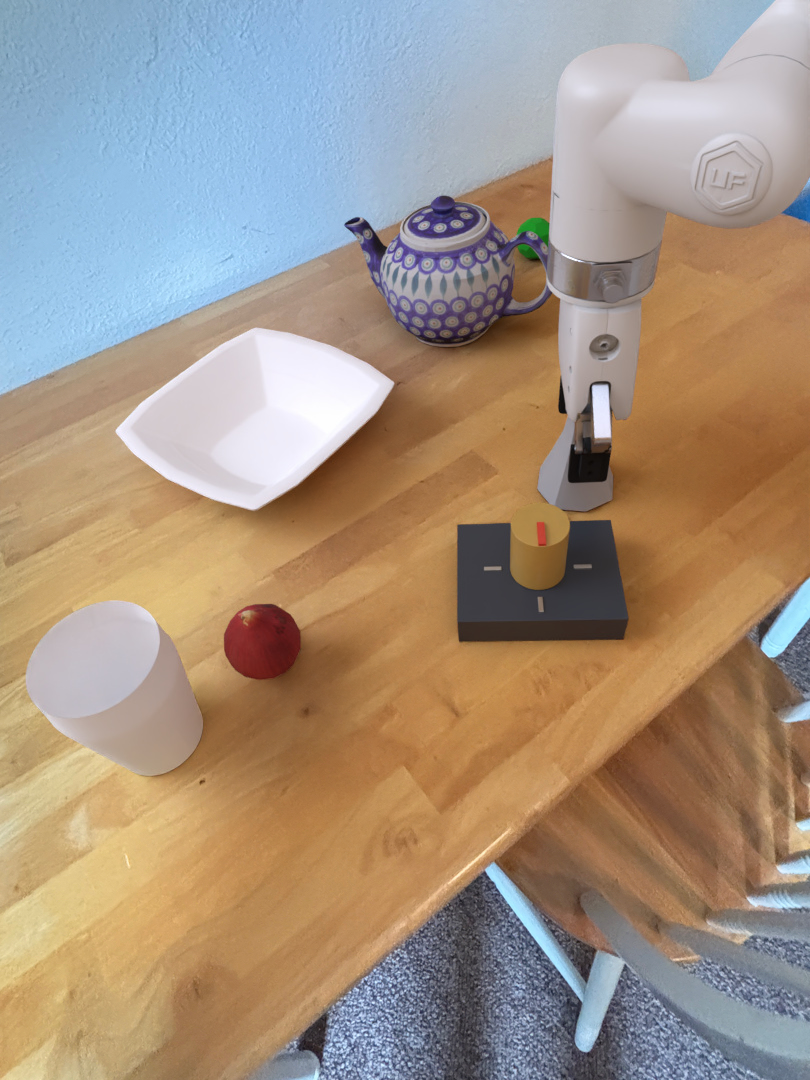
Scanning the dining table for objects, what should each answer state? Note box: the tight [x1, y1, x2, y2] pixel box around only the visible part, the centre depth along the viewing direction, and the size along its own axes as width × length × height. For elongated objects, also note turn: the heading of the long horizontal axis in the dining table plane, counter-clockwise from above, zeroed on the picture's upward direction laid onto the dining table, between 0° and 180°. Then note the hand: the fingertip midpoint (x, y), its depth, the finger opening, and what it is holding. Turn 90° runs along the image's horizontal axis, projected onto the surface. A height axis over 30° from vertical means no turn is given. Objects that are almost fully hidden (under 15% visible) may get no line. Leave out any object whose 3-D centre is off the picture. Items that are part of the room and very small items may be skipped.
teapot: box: [343, 195, 553, 348], centre depth 80 cm, size 25×15×15 cm, turn 63°
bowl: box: [115, 327, 395, 512], centre depth 73 cm, size 22×23×6 cm
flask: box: [536, 404, 614, 512], centre depth 63 cm, size 7×7×10 cm
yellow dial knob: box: [510, 502, 571, 590], centre depth 55 cm, size 4×4×6 cm
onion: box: [223, 603, 302, 681], centre depth 55 cm, size 6×6×8 cm
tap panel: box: [456, 519, 630, 643], centre depth 59 cm, size 13×10×3 cm
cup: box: [25, 599, 204, 777], centre depth 50 cm, size 9×9×12 cm
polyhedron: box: [515, 217, 550, 260], centre depth 92 cm, size 5×5×5 cm
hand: (580, 443), depth 63 cm, fingers open, 8 cm apart
